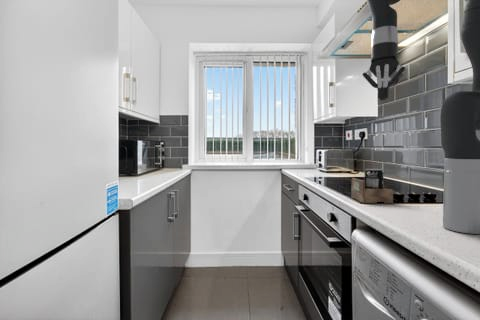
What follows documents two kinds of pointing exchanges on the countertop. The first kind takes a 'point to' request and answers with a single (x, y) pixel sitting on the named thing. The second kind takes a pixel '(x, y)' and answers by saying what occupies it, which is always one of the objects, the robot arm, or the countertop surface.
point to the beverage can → (373, 179)
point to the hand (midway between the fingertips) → (383, 100)
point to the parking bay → (370, 193)
